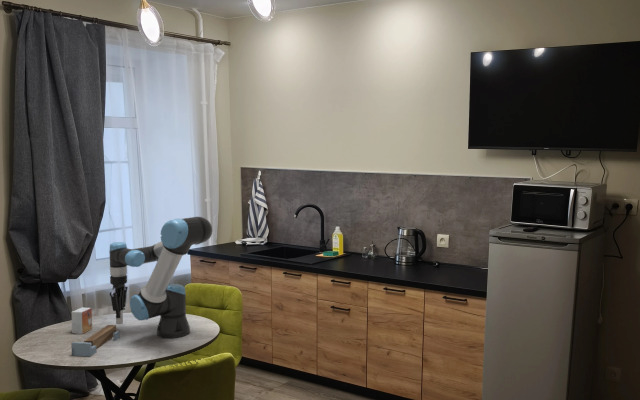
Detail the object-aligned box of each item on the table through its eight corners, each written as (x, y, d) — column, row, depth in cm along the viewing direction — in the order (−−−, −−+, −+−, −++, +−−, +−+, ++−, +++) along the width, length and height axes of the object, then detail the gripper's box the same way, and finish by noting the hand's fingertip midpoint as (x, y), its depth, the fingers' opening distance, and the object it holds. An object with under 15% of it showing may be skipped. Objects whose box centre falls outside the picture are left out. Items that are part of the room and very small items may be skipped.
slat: (116, 335, 261) (116, 325, 261) (93, 352, 239) (93, 340, 239) (108, 335, 261) (107, 324, 261) (84, 352, 239) (84, 340, 239)
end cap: (96, 352, 238) (96, 339, 237) (90, 356, 233) (89, 343, 233) (78, 351, 239) (77, 338, 239) (71, 355, 235) (71, 342, 234)
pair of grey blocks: (119, 337, 257) (119, 331, 257) (115, 340, 254) (115, 333, 253) (102, 336, 258) (102, 330, 258) (98, 339, 255) (98, 332, 255)
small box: (82, 334, 262) (81, 312, 261) (71, 333, 263) (70, 311, 262) (92, 329, 270) (91, 307, 269) (82, 328, 271) (81, 307, 270)
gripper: (118, 271, 271) (119, 319, 273) (103, 277, 258) (104, 327, 260) (132, 272, 270) (133, 320, 272) (119, 278, 257) (119, 328, 259)
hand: (119, 323), depth 266 cm, fingers closed
